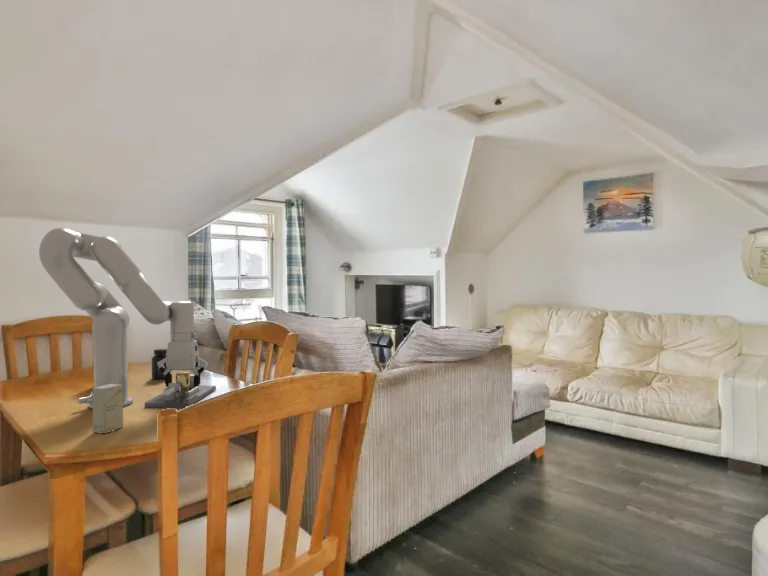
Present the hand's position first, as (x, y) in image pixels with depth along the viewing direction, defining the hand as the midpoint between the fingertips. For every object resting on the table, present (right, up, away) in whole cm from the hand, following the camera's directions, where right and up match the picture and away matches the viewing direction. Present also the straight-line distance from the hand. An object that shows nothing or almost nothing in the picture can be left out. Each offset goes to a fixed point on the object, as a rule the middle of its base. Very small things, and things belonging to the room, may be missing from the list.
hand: (182, 386), depth 164 cm
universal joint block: (0, -3, 0) cm, 3 cm away
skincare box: (-6, -5, -34) cm, 35 cm away
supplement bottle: (-22, -4, +31) cm, 39 cm away
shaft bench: (0, -4, 0) cm, 4 cm away
